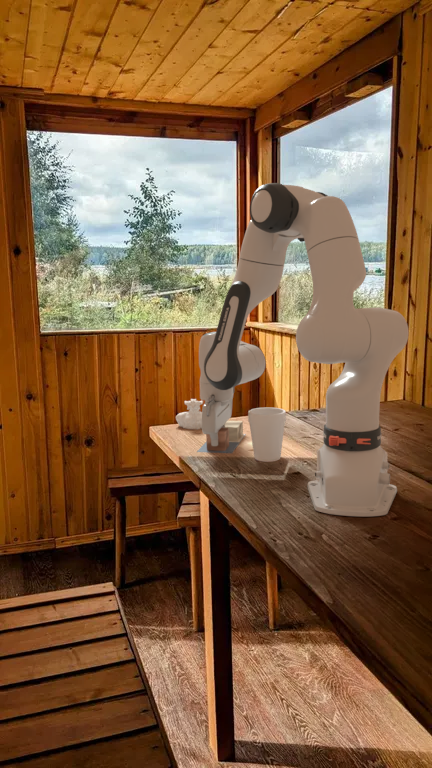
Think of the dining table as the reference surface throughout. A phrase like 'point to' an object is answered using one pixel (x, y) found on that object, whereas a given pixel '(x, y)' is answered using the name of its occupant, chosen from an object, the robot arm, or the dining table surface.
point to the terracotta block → (223, 440)
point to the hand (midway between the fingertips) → (218, 442)
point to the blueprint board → (229, 450)
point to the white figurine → (191, 415)
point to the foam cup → (267, 432)
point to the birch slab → (234, 430)
